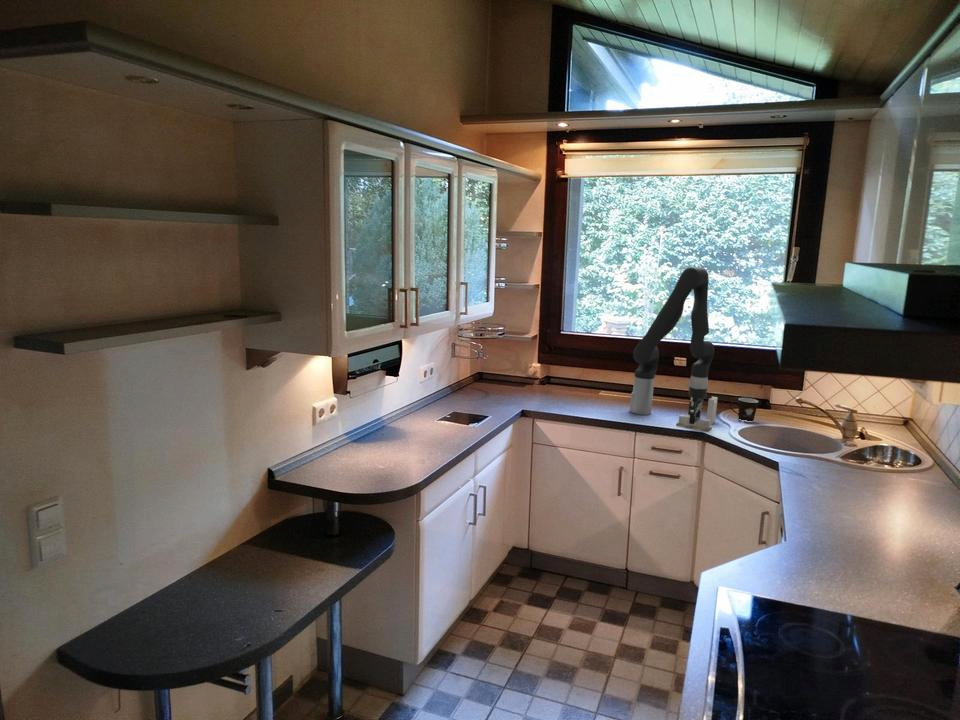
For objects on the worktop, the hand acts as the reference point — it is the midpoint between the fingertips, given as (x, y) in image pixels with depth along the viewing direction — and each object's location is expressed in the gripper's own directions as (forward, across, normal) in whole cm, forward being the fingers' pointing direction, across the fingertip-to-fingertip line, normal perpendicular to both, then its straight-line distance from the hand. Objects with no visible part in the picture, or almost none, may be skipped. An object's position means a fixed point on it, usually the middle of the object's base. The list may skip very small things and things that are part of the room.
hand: (694, 421), depth 294 cm
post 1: (+3, -13, -4) cm, 14 cm away
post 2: (+3, -13, +4) cm, 14 cm away
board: (+3, 0, 0) cm, 3 cm away
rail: (+2, 0, 0) cm, 2 cm away
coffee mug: (+3, -28, +15) cm, 31 cm away
